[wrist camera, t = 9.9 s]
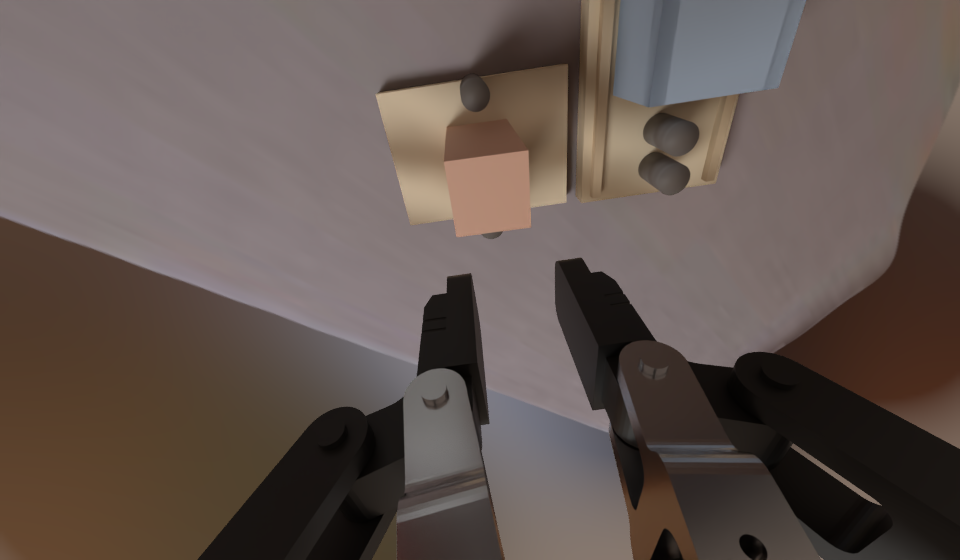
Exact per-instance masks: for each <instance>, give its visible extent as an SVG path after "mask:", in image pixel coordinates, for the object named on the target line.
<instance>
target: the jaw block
mask: <svg viewBox="0 0 960 560" xmlns="http://www.w3.org/2000/svg"><path fill="white" fill-rule="evenodd" d="M444 166H445V172H446V178H447V184H448V189H449V195H450V201H451V207H452V213H453V219H454V224H455V230H456V236H457V237H462V236H470V235H477V234H485V233H492V232H500V231H507V230H515V229H523V228H530V227H531V211H530V182H529V152H528V149H527V147H526V146H525V145H524V143H523V142H522V140H521V139H520V137H519V136H518V134H517V133H516V132H515V130H514V129H513V127H512V126H511V124H510V123H509V121H508V120H507V119H502V120H495V121H488V122H481V123H473V124H466V125H459V126H451V127H446V139H445V152H444Z"/></svg>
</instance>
